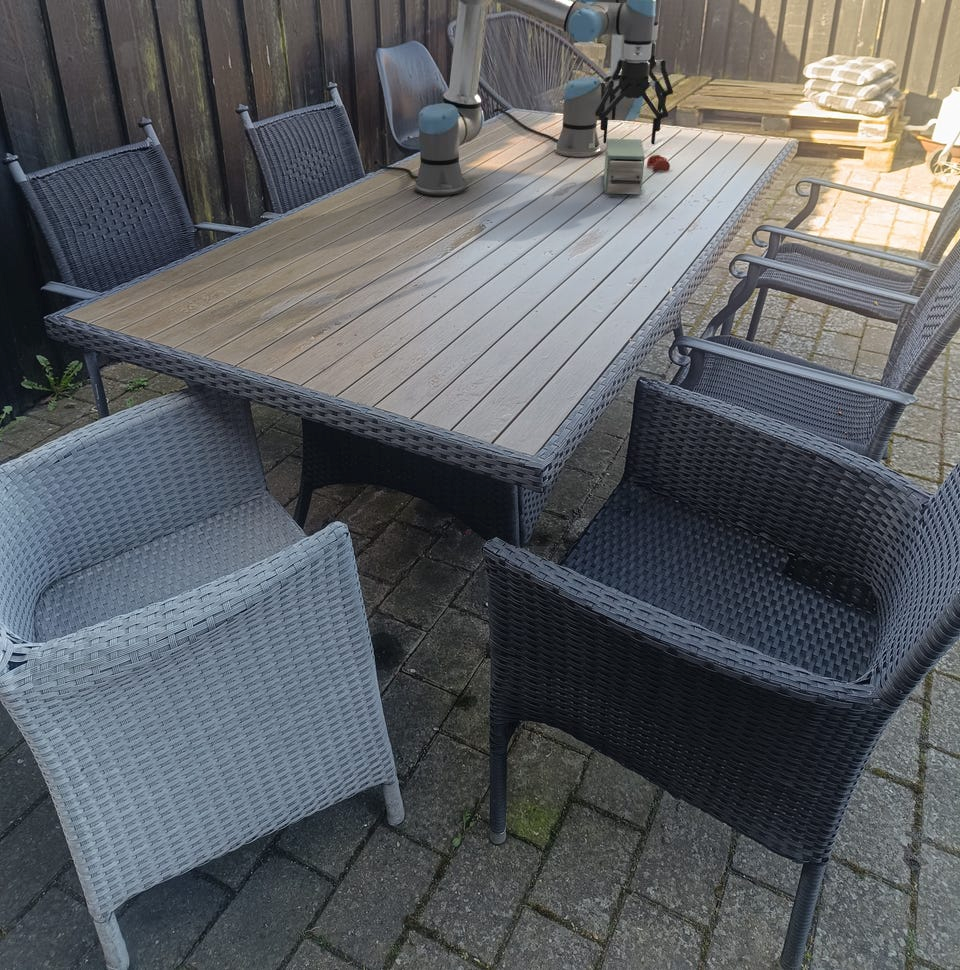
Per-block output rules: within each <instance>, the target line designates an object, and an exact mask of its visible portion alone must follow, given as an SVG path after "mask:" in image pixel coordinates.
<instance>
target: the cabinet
mask: <svg viewBox="0 0 960 970" xmlns="http://www.w3.org/2000/svg"><path fill="white" fill-rule="evenodd" d="M604 156H605V158H604V168H603V184H604V195H605V194H607V195H615V194H614V193H607V190H608V179H609V167H610V161H611V159H634V160H639V161H641V162H643V167H642V176H641V185H640V194H636V195H637V196H638V195H641V194H642V187H643V186H642V185H643V177H644V169H645V168H644V167H645V158H646V156H645V151H644V146H643V141H642V139H638V138H637V139H636V138H635V139H634V138H632V139H631V138H630V139H629V138H607V139H606V143H605V155H604Z"/></svg>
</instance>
